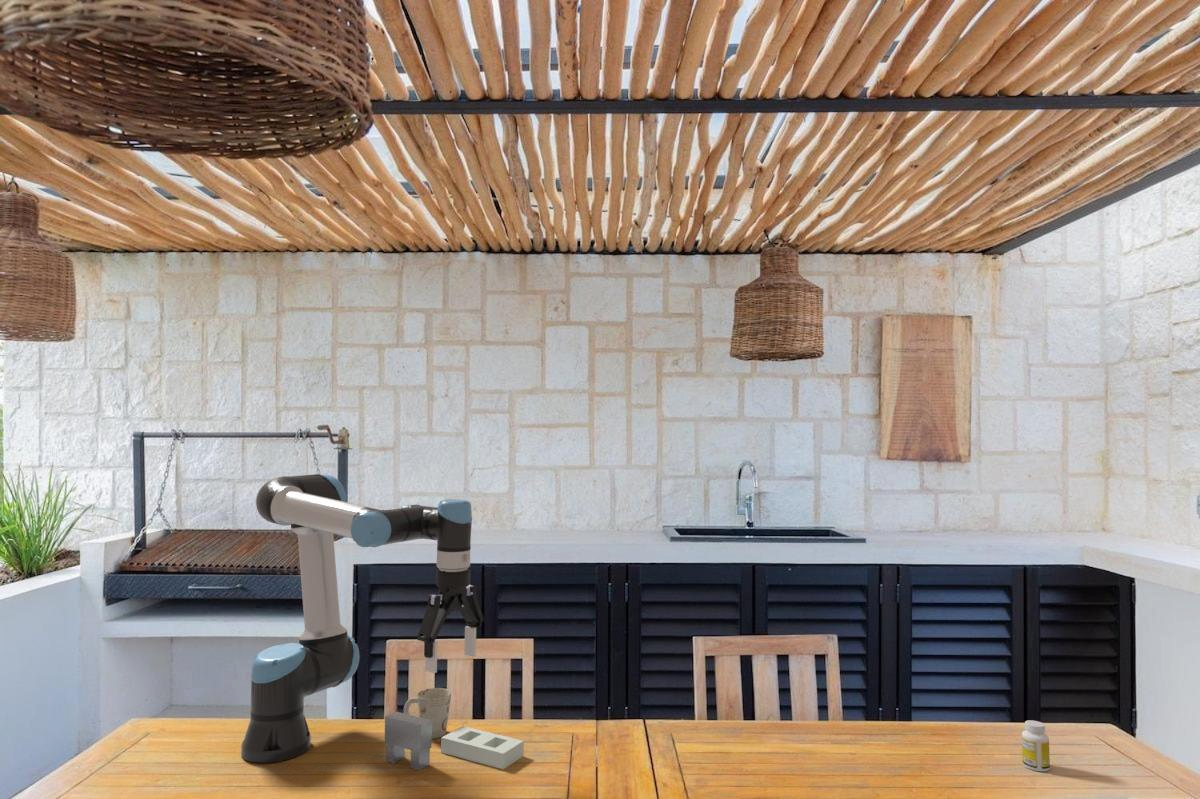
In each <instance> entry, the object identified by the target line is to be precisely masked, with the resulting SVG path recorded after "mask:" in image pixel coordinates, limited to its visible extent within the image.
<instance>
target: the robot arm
mask: <svg viewBox="0 0 1200 799" xmlns="http://www.w3.org/2000/svg"><path fill="white" fill-rule="evenodd" d="M255 506H256V510H257V512H258V514H259V515H260V517H262V519H263V520H265V521H267V522H269V523H272V524H275V525H279V526H282V527H283V526H290V530H291V531H292V532H293V533H294V534H296V535H297V542H298V555H299V566H300V567H299V569H300V581H301V582H300V583H301V595H302V596H301V597H302V608H303V609H302V610H303V620H304V621H303V623H304V631H303V633H302V634H301V635H300V636H299V637H298V642H299V643H297V642H296V643H295V642H288V643H283V644H278V645H273V646H270V647H268V648H266V649H263V650H261V651H260V652H258V653H257V654H256V656H255V657H254V658H253V661H252V664H251V665H252V666H251V673H250V679H251V680H250V684H251V685H250V686H251V687H250V688H251V690H250V720H249V723H248V725H247V729H246V733H245V736H244V739H243V741H242V742H241V751H240V753H241V755H240V756H241V757H242V759H243V760H245V761H248V762H250V763H255V764H256V763H258V764H267V763H276V762H283V761H287V760H290V759H293V758H296V757H299V756H300V755H302V754H304V753H306V752H307V751H308V750H309V749H310V748H311V740H312V738H311V737H312V736H311V732H310V729H309V725H308V722H307V719H306V716H305V714H304V710H305V708H304V705H305V697H307V696H310V695H314V694H316V693H319V692H321V691H324V690H328V689H330V688H336V687H338V686H340V685H341V684H343V683H345V682H347V681H349V680H350V679H351V678H352V677H354V676H353V675H354V674H355V673H356V672H357V670H358V667H359V663H360V650H359V646H358V643H355V642H356V640H355V638H354V637H352V636H350V635H348V634H349V633H348V628H346V627H345V626H343V625H342V623H341V614H340V612H341V611H340V603H339V602H340V601H339V590H338V577H337V576H338V575H337V564H336V554H335V550H336V549H335V540H334V535H335V536H341V537H344V538H349V539H352V540H353V541H354V542H355V543H356V545H357V546H359V547H361V548H378V547H381V546H385V545H391V544H392V545H393V544H396V543H404V542H409V541H415V540H432V541H436V542H437V543H436V547H437V548H436V565H435V566H436V567H437V568H438V569H437V570H436V575H435V576H436V579H435V585H436V587H438V589H439V591H438V594H432V593H431V594H428V595H429V596H428V600H427V606H426V608H425V609H426V610H425V612H424V615H423V618H422V622H421V623H420V627H419V630H418V634H417V636H416V639H417V641H419V642H423V644H424V646H423V651H424V652H423V656H424V672H429V673H432V674H436V673H438V641H436V639H437V637H438V635H439V633H440V632H441V629H442V628H443V625H444V623H445V621H446V619H447V617H448V616H449V615H450V614H451V613H452V612H454V611H456V610H458V612H459V613H460V615H461V617H462V618H463V619H464V621H465V623H466V624H467V625H466V626H464V653H463V654H464V656H468V657H476V654H477V652H476V650H477V649H476V648H477V646H476V644H477V640H478V635H477V634H478V628H481V627H482V623H483V622H484V615H483V613H482V609H481V605H480V603H479V599H478V597H477V587H476V585H473V584H470V583H471V570H470V569H469V567H471V542H472V541H471V540H472V536H471V535H472V522H473V515H472V504H471V502H470V500H466V499H453V498H452V499H442V500H439V502H438V505H437V506H429V505H428V506H426V505H421V504H407V505H403V506H401V507H400V508H394V509H378V508H373V507H369V506H367V505H366V506H365V505H360V504H355V503H352V502H347V494H346V491H345V488H344V486H343V484H342V483H341V481H340V480H338V479H337V478H336V477H335V476H333V475H330V474H319V473H317V474H314V473H313V474H305V475H292V476H286V475H284V476H283V475H282V476H279V477H275V478H272V479H270V480H268V481H267V482H265V483H264V484H263V485H262V486H261V487H260V489H259V490H258V492H257V495H256V500H255Z"/></svg>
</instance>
